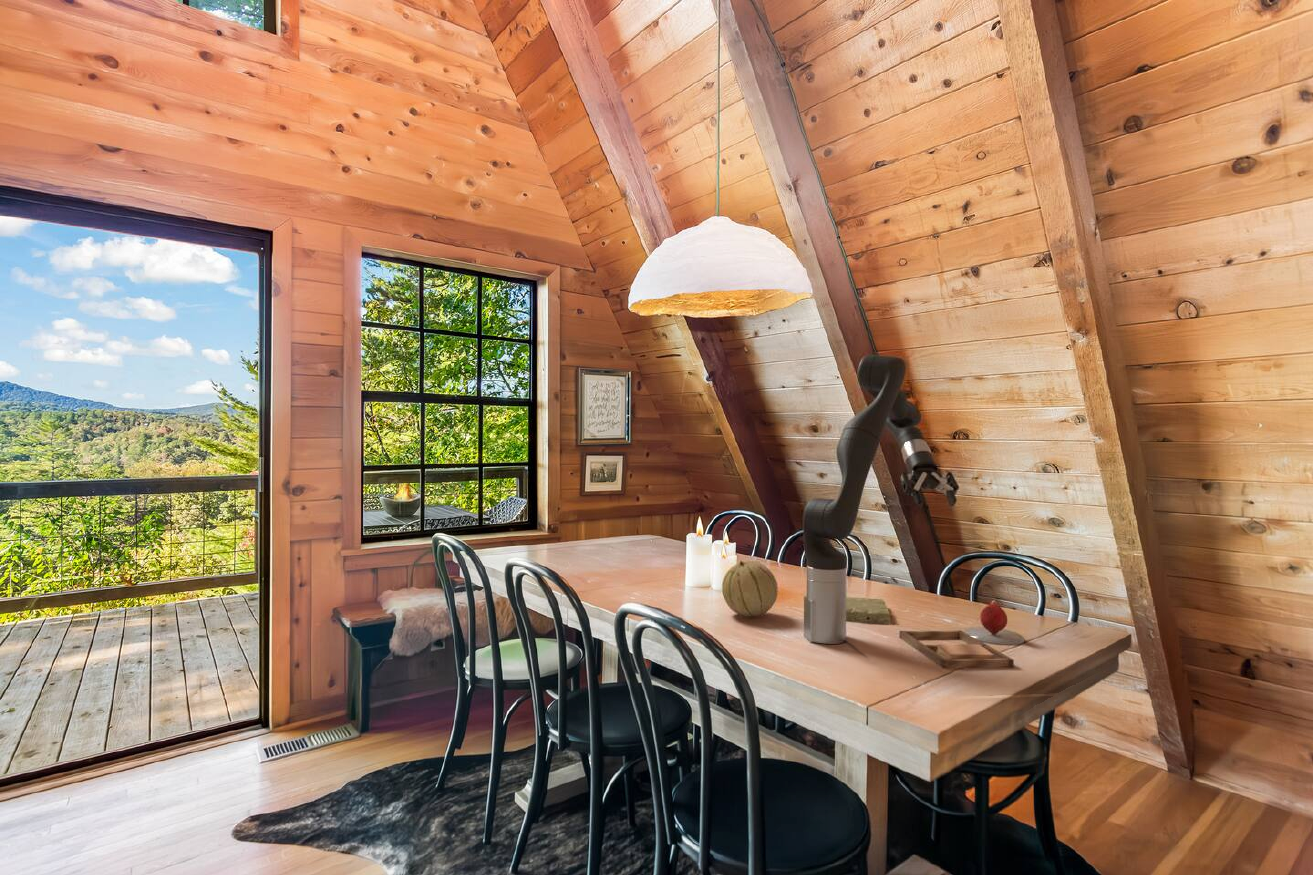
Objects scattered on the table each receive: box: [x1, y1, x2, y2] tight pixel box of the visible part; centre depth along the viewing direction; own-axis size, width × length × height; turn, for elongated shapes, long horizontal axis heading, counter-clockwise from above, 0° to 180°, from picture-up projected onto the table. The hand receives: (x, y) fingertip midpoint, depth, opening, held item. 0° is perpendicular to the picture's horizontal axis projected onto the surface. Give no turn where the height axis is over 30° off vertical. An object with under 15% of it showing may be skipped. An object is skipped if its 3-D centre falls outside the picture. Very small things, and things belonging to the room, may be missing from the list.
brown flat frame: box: [899, 630, 1014, 669], centre depth 156 cm, size 15×22×2 cm
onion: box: [979, 600, 1008, 634], centre depth 168 cm, size 6×6×8 cm
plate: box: [963, 626, 1025, 646], centre depth 167 cm, size 13×13×1 cm
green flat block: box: [846, 596, 892, 625], centre depth 191 cm, size 19×20×4 cm
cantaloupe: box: [721, 560, 779, 618], centre depth 187 cm, size 15×15×15 cm
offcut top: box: [937, 643, 994, 659], centre depth 150 cm, size 9×7×1 cm
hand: (937, 504), depth 183 cm, fingers open, 8 cm apart
